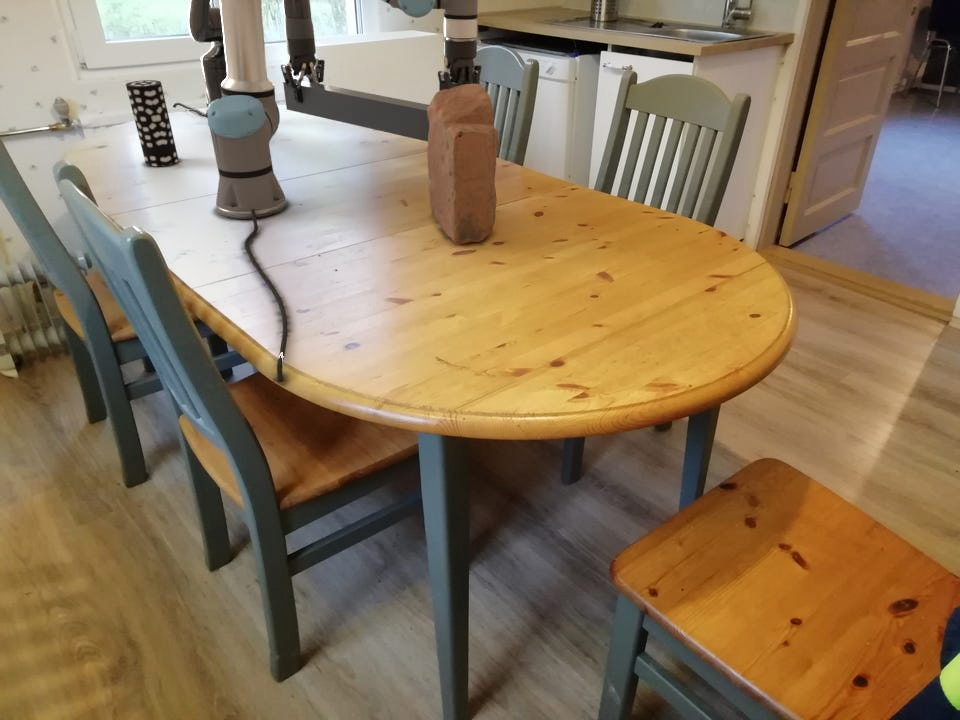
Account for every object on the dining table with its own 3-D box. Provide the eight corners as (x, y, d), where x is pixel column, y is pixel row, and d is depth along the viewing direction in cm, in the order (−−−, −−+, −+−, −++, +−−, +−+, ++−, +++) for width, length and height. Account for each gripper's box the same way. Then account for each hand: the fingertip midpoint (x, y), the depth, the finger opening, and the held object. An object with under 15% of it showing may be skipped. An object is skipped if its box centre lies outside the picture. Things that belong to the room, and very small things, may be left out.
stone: (507, 241, 142) (509, 97, 128) (455, 247, 139) (451, 101, 125) (475, 209, 160) (474, 80, 146) (428, 214, 157) (422, 83, 143)
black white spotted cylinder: (184, 157, 190) (167, 80, 179) (169, 166, 183) (151, 87, 172) (155, 156, 190) (136, 79, 179) (139, 165, 183) (119, 86, 172)
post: (487, 147, 167) (487, 115, 163) (474, 152, 164) (474, 119, 160) (300, 106, 202) (296, 79, 198) (286, 109, 198) (282, 81, 194)
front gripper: (471, 33, 164) (470, 132, 176) (421, 41, 152) (423, 147, 164) (497, 36, 160) (493, 138, 173) (447, 44, 148) (447, 153, 160)
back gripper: (311, 31, 193) (317, 94, 202) (269, 36, 183) (278, 103, 192) (329, 34, 189) (335, 98, 198) (288, 39, 179) (296, 107, 188)
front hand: (459, 142), depth 168 cm, fingers closed on post, 5 cm apart
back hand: (307, 100), depth 195 cm, fingers closed on post, 5 cm apart
